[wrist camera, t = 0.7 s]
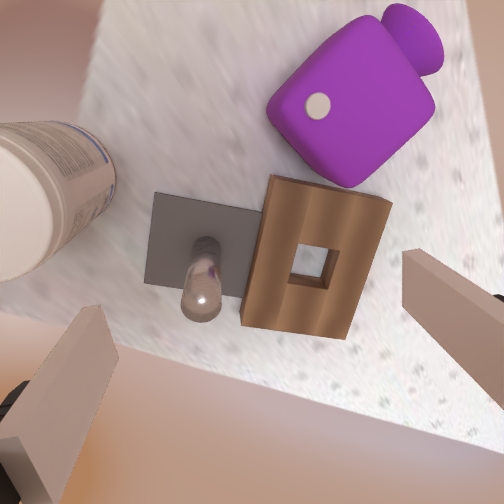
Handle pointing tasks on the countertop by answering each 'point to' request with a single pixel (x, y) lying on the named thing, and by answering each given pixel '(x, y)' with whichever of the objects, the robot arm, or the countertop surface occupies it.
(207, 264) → the peg
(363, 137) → the toy camera
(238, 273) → the mat
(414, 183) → the countertop surface
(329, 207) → the socket block
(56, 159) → the supplement tub
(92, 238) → the countertop surface
